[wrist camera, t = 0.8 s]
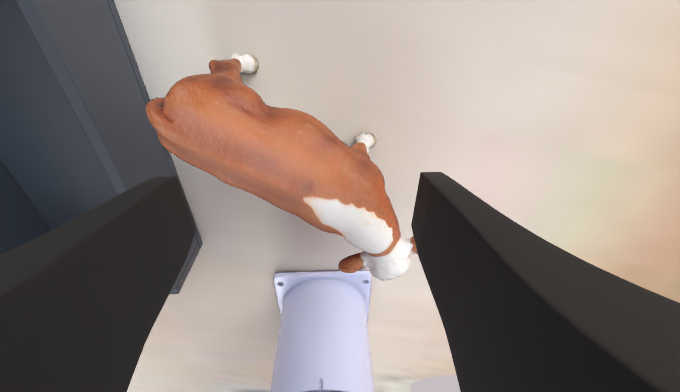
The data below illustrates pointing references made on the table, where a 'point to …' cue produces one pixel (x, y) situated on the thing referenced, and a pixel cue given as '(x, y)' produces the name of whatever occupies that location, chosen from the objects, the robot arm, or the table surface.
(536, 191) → the table surface
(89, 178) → the tote
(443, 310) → the robot arm
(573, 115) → the table surface
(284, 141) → the bull figurine
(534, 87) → the table surface
